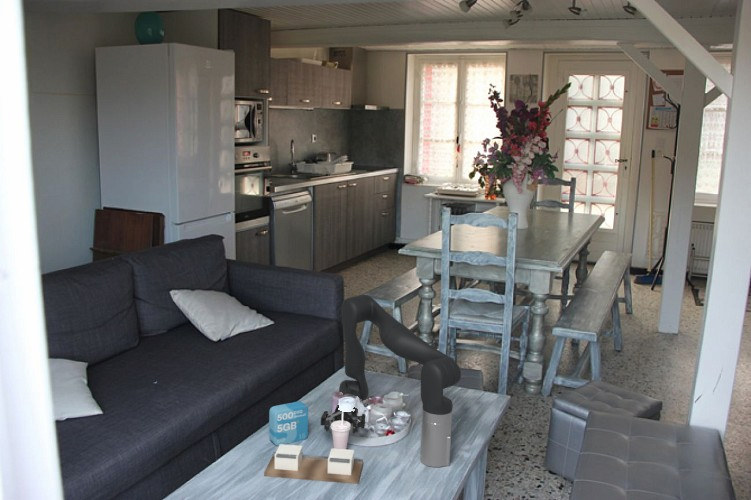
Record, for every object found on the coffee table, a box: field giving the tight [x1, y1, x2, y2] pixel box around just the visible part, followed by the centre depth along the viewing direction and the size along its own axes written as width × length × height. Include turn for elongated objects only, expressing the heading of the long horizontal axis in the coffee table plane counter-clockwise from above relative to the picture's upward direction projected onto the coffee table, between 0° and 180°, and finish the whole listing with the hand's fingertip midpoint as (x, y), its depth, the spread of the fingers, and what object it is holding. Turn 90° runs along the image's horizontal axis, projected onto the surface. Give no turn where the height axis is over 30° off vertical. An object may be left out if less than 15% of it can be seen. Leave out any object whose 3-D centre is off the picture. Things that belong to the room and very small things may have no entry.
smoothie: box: [330, 412, 352, 450], centre depth 220 cm, size 6×6×14 cm
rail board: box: [263, 444, 364, 485], centre depth 209 cm, size 28×12×6 cm, turn 85°
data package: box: [268, 400, 309, 447], centre depth 227 cm, size 12×4×12 cm, turn 122°
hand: (340, 429), depth 218 cm, fingers open, 8 cm apart
